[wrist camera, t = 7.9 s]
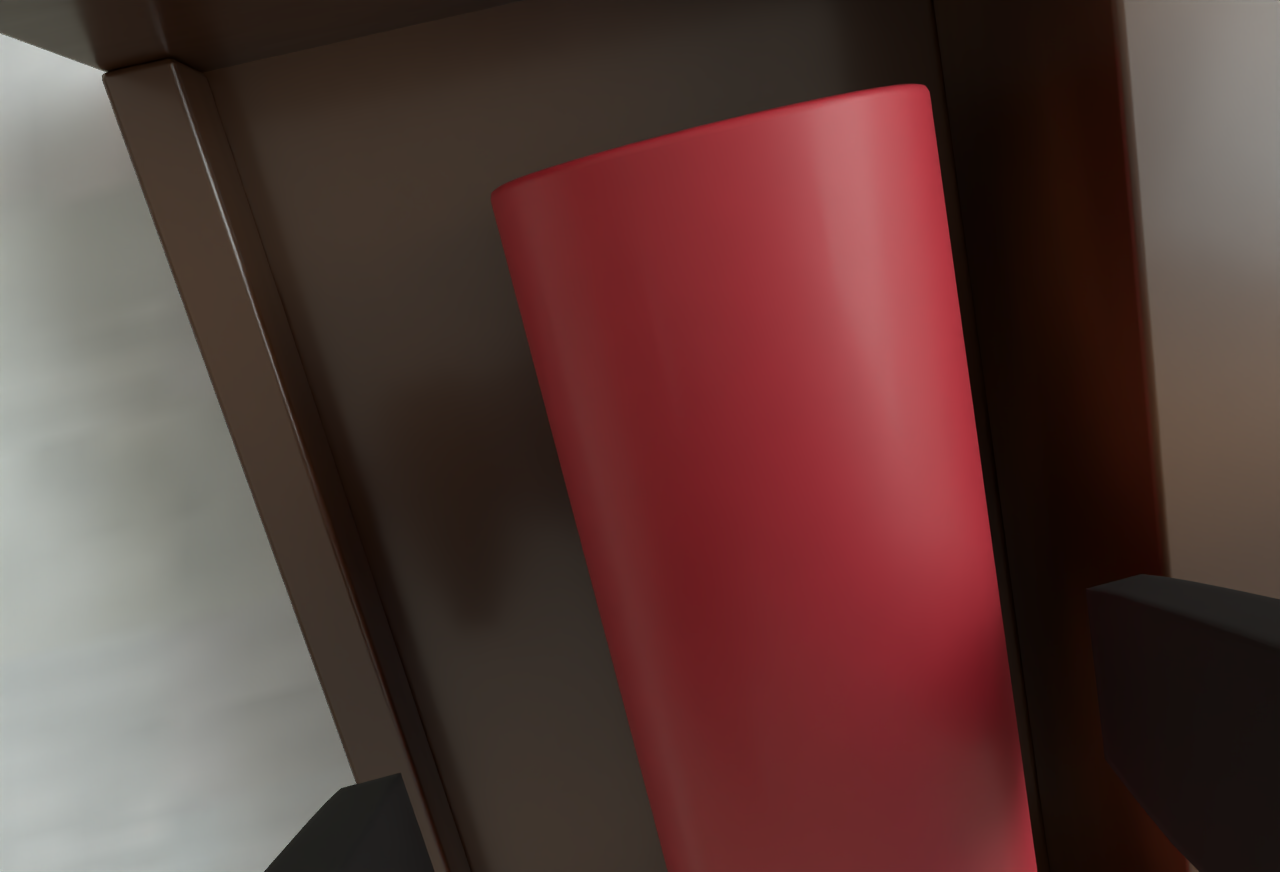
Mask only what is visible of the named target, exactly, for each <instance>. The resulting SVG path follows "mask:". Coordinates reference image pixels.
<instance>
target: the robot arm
mask: <svg viewBox="0 0 1280 872" xmlns="http://www.w3.org/2000/svg"><path fill="white" fill-rule="evenodd" d="M1085 590H1086V599H1087V607H1088V616H1089V625H1090V634H1091V643H1092V652H1093V660H1094V669H1095V678H1096V687H1097V696H1098V705H1099V713H1100V722H1101V731H1102V740H1103V749H1104V757H1105V760H1106V761H1107V763H1108V764H1109V765H1110V767H1111V768H1112V769H1113V771H1114V772H1115V773H1116V774H1117V776H1118V777H1119V778H1120V780H1121V781H1122V782H1123V784H1124V785H1125V786H1126V787H1127V789H1128V790H1129V791H1130V793H1131V794H1132V795H1133V797H1134V798H1135V799H1136V800H1137V802H1138V803H1139V804H1140V806H1141V807H1142V808H1143V809H1144V810H1145V812H1146V813H1147V814H1148V815H1149V817H1150V818H1151V819H1152V820H1153V821H1154V823H1155V824H1156V825H1157V826H1158V827H1159V829H1160V830H1161V831H1162V832H1163V833H1164V835H1165V836H1166V837H1167V838H1168V840H1169V841H1170V842H1171V843H1172V844H1173V845H1174V846H1175V847H1176V848H1177V850H1178V851H1179V852H1180V853H1181V854H1182V855H1183V856H1184V857H1185V858H1186V859H1187V860H1188V861H1189V862H1190V863H1191V864H1192V865H1193V866H1194V867H1195V868H1196V869H1197V870H1198V871H1199V872H1280V599H1276V598H1271V597H1267V596H1262V595H1257V594H1253V593H1248V592H1244V591H1239V590H1234V589H1229V588H1224V587H1219V586H1214V585H1209V584H1204V583H1199V582H1194V581H1188V580H1182V579H1176V578H1170V577H1163V576H1155V575H1146V574H1140V575H1136V576H1132V577H1128V578H1125V579H1121V580H1117V581H1113V582H1110V583H1106V584H1102V585H1098V586H1095V587H1091V588H1087V589H1085ZM264 872H435V871H434V868H433V865H432V862H431V859H430V857H429V854H428V851H427V848H426V845H425V842H424V839H423V836H422V833H421V830H420V827H419V825H418V822H417V819H416V816H415V813H414V810H413V807H412V804H411V801H410V798H409V795H408V793H407V790H406V787H405V784H404V781H403V778H402V775H401V773H397V774H393V775H389V776H386V777H382V778H378V779H374V780H371V781H367V782H363V783H359V784H356V785H352V786H348V787H345V788H341V789H340V790H339V791H337V792H336V793H335V794H334V795H333V796H332V797H331V798H330V799H329V800H328V801H327V802H326V803H325V804H324V805H323V806H322V807H321V808H320V809H319V811H318V812H317V813H316V814H315V815H314V816H313V817H312V818H311V819H310V820H309V821H308V823H307V824H306V825H305V826H304V827H303V828H302V829H301V830H300V831H299V833H298V834H297V835H296V836H295V837H294V838H293V839H292V840H291V842H290V843H289V844H288V845H287V846H286V847H285V848H284V850H283V851H282V852H281V853H280V854H279V855H278V856H277V857H276V859H275V860H274V861H273V862H272V863H271V864H270V865H269V867H268V868H267V869H266V870H265V871H264Z"/></svg>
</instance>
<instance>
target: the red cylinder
mask: <svg viewBox="0 0 1280 872" xmlns="http://www.w3.org/2000/svg"><path fill="white" fill-rule="evenodd" d="M491 204H492V208H493V211H494V215H495V219H496V223H497V227H498V230H499V234H500V238H501V242H502V246H503V249H504V253H505V257H506V261H507V265H508V268H509V272H510V276H511V280H512V283H513V287H514V291H515V295H516V299H517V302H518V306H519V310H520V314H521V318H522V321H523V325H524V329H525V333H526V337H527V340H528V344H529V348H530V352H531V355H532V359H533V363H534V367H535V371H536V374H537V378H538V382H539V386H540V390H541V393H542V397H543V401H544V405H545V408H546V412H547V416H548V420H549V424H550V427H551V431H552V435H553V439H554V443H555V446H556V450H557V454H558V458H559V462H560V465H561V469H562V473H563V477H564V480H565V484H566V488H567V492H568V496H569V499H570V503H571V507H572V511H573V515H574V518H575V522H576V526H577V530H578V534H579V537H580V541H581V545H582V549H583V552H584V556H585V560H586V564H587V568H588V571H589V575H590V579H591V583H592V587H593V590H594V594H595V598H596V602H597V606H598V609H599V613H600V617H601V621H602V624H603V628H604V632H605V636H606V640H607V643H608V647H609V651H610V655H611V659H612V662H613V666H614V670H615V674H616V678H617V681H618V685H619V689H620V693H621V696H622V700H623V704H624V708H625V712H626V715H627V719H628V723H629V727H630V731H631V734H632V738H633V742H634V746H635V750H636V753H637V757H638V761H639V765H640V768H641V772H642V776H643V780H644V784H645V787H646V791H647V795H648V799H649V803H650V806H651V810H652V814H653V818H654V821H655V825H656V829H657V833H658V837H659V840H660V844H661V848H662V852H663V856H664V859H665V863H666V867H667V871H668V872H1037V865H1036V858H1035V851H1034V844H1033V836H1032V829H1031V822H1030V815H1029V807H1028V800H1027V793H1026V786H1025V779H1024V771H1023V764H1022V757H1021V750H1020V742H1019V735H1018V728H1017V721H1016V713H1015V706H1014V699H1013V692H1012V684H1011V677H1010V670H1009V663H1008V655H1007V648H1006V641H1005V634H1004V626H1003V619H1002V612H1001V605H1000V597H999V590H998V583H997V576H996V568H995V561H994V554H993V547H992V539H991V532H990V525H989V518H988V510H987V503H986V496H985V489H984V481H983V474H982V467H981V460H980V453H979V445H978V438H977V431H976V424H975V416H974V409H973V402H972V395H971V387H970V380H969V373H968V366H967V358H966V351H965V344H964V337H963V329H962V322H961V315H960V308H959V300H958V293H957V286H956V279H955V271H954V264H953V257H952V250H951V242H950V235H949V228H948V221H947V213H946V206H945V199H944V192H943V184H942V177H941V170H940V163H939V156H938V148H937V141H936V134H935V127H934V119H933V112H932V105H931V98H930V92H929V90H928V89H927V87H926V86H925V85H921V84H899V85H891V86H884V87H877V88H871V89H866V90H860V91H854V92H849V93H844V94H839V95H834V96H829V97H824V98H819V99H814V100H810V101H805V102H800V103H795V104H791V105H786V106H782V107H777V108H773V109H768V110H764V111H760V112H756V113H751V114H747V115H743V116H738V117H734V118H730V119H726V120H722V121H718V122H714V123H709V124H705V125H701V126H697V127H693V128H689V129H685V130H681V131H678V132H674V133H670V134H666V135H662V136H658V137H654V138H651V139H647V140H643V141H639V142H636V143H632V144H628V145H624V146H621V147H617V148H614V149H610V150H606V151H603V152H599V153H596V154H592V155H589V156H585V157H582V158H579V159H575V160H572V161H568V162H565V163H562V164H559V165H555V166H552V167H549V168H546V169H543V170H540V171H537V172H534V173H531V174H528V175H525V176H522V177H520V178H517V179H514V180H512V181H509V182H507V183H505V184H503V185H501V186H499V187H498V188H496V189H495V190H494V191H493V192H492V193H491Z"/></svg>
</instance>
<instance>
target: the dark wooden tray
mask: <svg viewBox="0 0 1280 872" xmlns="http://www.w3.org/2000/svg"><path fill="white" fill-rule="evenodd" d="M0 33H1V34H4V35H6V36H9V37H12V38H14V39H17V40H20V41H23V42H25V43H28V44H31V45H34V46H36V47H39V48H42V49H44V50H47V51H50V52H53V53H55V54H58V55H61V56H64V57H66V58H69V59H72V60H75V61H77V62H80V63H83V64H85V65H88V66H91V67H94V68H96V69H99V70H102V71H105V72H106V73H105V74H103V75H102V81H103V84H104V86H105V89H106V92H107V95H108V98H109V100H110V103H111V106H112V109H113V111H114V114H115V117H116V120H117V122H118V125H119V128H120V131H121V134H122V136H123V139H124V142H125V145H126V147H127V150H128V153H129V156H130V158H131V161H132V164H133V167H134V170H135V172H136V175H137V178H138V181H139V183H140V186H141V189H142V192H143V194H144V197H145V200H146V203H147V206H148V208H149V211H150V214H151V217H152V219H153V222H154V225H155V228H156V230H157V233H158V236H159V239H160V241H161V244H162V247H163V250H164V253H165V255H166V258H167V261H168V264H169V266H170V269H171V272H172V275H173V277H174V280H175V283H176V286H177V289H178V291H179V294H180V297H181V300H182V302H183V305H184V308H185V311H186V313H187V316H188V319H189V322H190V325H191V327H192V330H193V333H194V336H195V338H196V341H197V344H198V347H199V349H200V352H201V355H202V358H203V360H204V363H205V366H206V369H207V372H208V374H209V377H210V380H211V383H212V385H213V388H214V391H215V394H216V396H217V399H218V402H219V405H220V408H221V410H222V413H223V416H224V419H225V421H226V424H227V427H228V430H229V432H230V435H231V438H232V441H233V444H234V446H235V449H236V452H237V455H238V457H239V460H240V463H241V466H242V468H243V471H244V474H245V477H246V480H247V482H248V485H249V488H250V491H251V493H252V496H253V499H254V502H255V504H256V507H257V510H258V513H259V515H260V518H261V521H262V524H263V527H264V529H265V532H266V535H267V538H268V540H269V543H270V546H271V549H272V551H273V554H274V557H275V560H276V563H277V565H278V568H279V571H280V574H281V576H282V579H283V582H284V585H285V587H286V590H287V593H288V596H289V599H290V601H291V604H292V607H293V610H294V612H295V615H296V618H297V621H298V623H299V626H300V629H301V632H302V634H303V637H304V640H305V643H306V646H307V648H308V651H309V654H310V657H311V659H312V662H313V665H314V668H315V670H316V673H317V676H318V679H319V682H320V684H321V687H322V690H323V693H324V695H325V698H326V701H327V704H328V706H329V709H330V712H331V715H332V718H333V720H334V723H335V726H336V729H337V731H338V734H339V737H340V740H341V742H342V745H343V748H344V751H345V754H346V756H347V759H348V762H349V765H350V767H351V770H352V773H353V776H354V778H355V781H356V784H359V783H363V782H367V781H371V780H374V779H378V778H382V777H386V776H389V775H393V774H397V773H401V775H402V778H403V781H404V784H405V787H406V790H407V793H408V795H409V798H410V801H411V804H412V807H413V810H414V813H415V816H416V819H417V822H418V825H419V827H420V830H421V833H422V836H423V839H424V842H425V845H426V848H427V851H428V854H429V857H430V859H431V862H432V865H433V868H434V871H435V872H668V871H667V867H666V863H665V859H664V856H663V852H662V848H661V844H660V840H659V837H658V833H657V829H656V825H655V821H654V818H653V814H652V810H651V806H650V803H649V799H648V795H647V791H646V787H645V784H644V780H643V776H642V772H641V768H640V765H639V761H638V757H637V753H636V750H635V746H634V742H633V738H632V734H631V731H630V727H629V723H628V719H627V715H626V712H625V708H624V704H623V700H622V696H621V693H620V689H619V685H618V681H617V678H616V674H615V670H614V666H613V662H612V659H611V655H610V651H609V647H608V643H607V640H606V636H605V632H604V628H603V624H602V621H601V617H600V613H599V609H598V606H597V602H596V598H595V594H594V590H593V587H592V583H591V579H590V575H589V571H588V568H587V564H586V560H585V556H584V552H583V549H582V545H581V541H580V537H579V534H578V530H577V526H576V522H575V518H574V515H573V511H572V507H571V503H570V499H569V496H568V492H567V488H566V484H565V480H564V477H563V473H562V469H561V465H560V462H559V458H558V454H557V450H556V446H555V443H554V439H553V435H552V431H551V427H550V424H549V420H548V416H547V412H546V408H545V405H544V401H543V397H542V393H541V390H540V386H539V382H538V378H537V374H536V371H535V367H534V363H533V359H532V355H531V352H530V348H529V344H528V340H527V337H526V333H525V329H524V325H523V321H522V318H521V314H520V310H519V306H518V302H517V299H516V295H515V291H514V287H513V283H512V280H511V276H510V272H509V268H508V265H507V261H506V257H505V253H504V249H503V246H502V242H501V238H500V234H499V230H498V227H497V223H496V219H495V215H494V211H493V208H492V204H491V193H492V192H493V191H494V190H495V189H496V188H498V187H499V186H501V185H503V184H505V183H507V182H509V181H512V180H514V179H517V178H520V177H522V176H525V175H528V174H531V173H534V172H537V171H540V170H543V169H546V168H549V167H552V166H555V165H559V164H562V163H565V162H568V161H572V160H575V159H579V158H582V157H585V156H589V155H592V154H596V153H599V152H603V151H606V150H610V149H614V148H617V147H621V146H624V145H628V144H632V143H636V142H639V141H643V140H647V139H651V138H654V137H658V136H662V135H666V134H670V133H674V132H678V131H681V130H685V129H689V128H693V127H697V126H701V125H705V124H709V123H714V122H718V121H722V120H726V119H730V118H734V117H738V116H743V115H747V114H751V113H756V112H760V111H764V110H768V109H773V108H777V107H782V106H786V105H791V104H795V103H800V102H805V101H810V100H814V99H819V98H824V97H829V96H834V95H839V94H844V93H849V92H854V91H860V90H866V89H871V88H877V87H884V86H891V85H899V84H921V85H925V86H926V87H927V89H928V90H929V92H930V98H931V105H932V112H933V119H934V127H935V134H936V141H937V148H938V156H939V163H940V170H941V177H942V184H943V192H944V199H945V206H946V213H947V221H948V228H949V235H950V242H951V250H952V257H953V264H954V271H955V279H956V286H957V293H958V300H959V308H960V315H961V322H962V329H963V337H964V344H965V351H966V358H967V366H968V373H969V380H970V387H971V395H972V402H973V409H974V416H975V424H976V431H977V438H978V445H979V453H980V460H981V467H982V474H983V481H984V489H985V496H986V503H987V510H988V518H989V525H990V532H991V539H992V547H993V554H994V561H995V568H996V576H997V583H998V590H999V597H1000V605H1001V612H1002V619H1003V626H1004V634H1005V641H1006V648H1007V655H1008V663H1009V670H1010V677H1011V684H1012V692H1013V699H1014V706H1015V713H1016V721H1017V728H1018V735H1019V742H1020V750H1021V757H1022V764H1023V771H1024V779H1025V786H1026V793H1027V800H1028V807H1029V815H1030V822H1031V829H1032V836H1033V844H1034V851H1035V858H1036V865H1037V872H1199V871H1198V870H1197V869H1196V868H1195V867H1194V866H1193V865H1192V864H1191V863H1190V862H1189V861H1188V860H1187V859H1186V858H1185V857H1184V856H1183V855H1182V854H1181V853H1180V852H1179V851H1178V850H1177V848H1176V847H1175V846H1174V845H1173V844H1172V843H1171V842H1170V841H1169V840H1168V838H1167V837H1166V836H1165V835H1164V833H1163V832H1162V831H1161V830H1160V829H1159V827H1158V826H1157V825H1156V824H1155V823H1154V821H1153V820H1152V819H1151V818H1150V817H1149V815H1148V814H1147V813H1146V812H1145V810H1144V809H1143V808H1142V807H1141V806H1140V804H1139V803H1138V802H1137V800H1136V799H1135V798H1134V797H1133V795H1132V794H1131V793H1130V791H1129V790H1128V789H1127V787H1126V786H1125V785H1124V784H1123V782H1122V781H1121V780H1120V778H1119V777H1118V776H1117V774H1116V773H1115V772H1114V771H1113V769H1112V768H1111V767H1110V765H1109V764H1108V763H1107V761H1106V760H1105V757H1104V749H1103V740H1102V731H1101V722H1100V713H1099V705H1098V696H1097V687H1096V678H1095V669H1094V660H1093V652H1092V643H1091V634H1090V625H1089V616H1088V607H1087V599H1086V590H1085V589H1087V588H1091V587H1095V586H1098V585H1102V584H1106V583H1110V582H1113V581H1117V580H1121V579H1125V578H1128V577H1132V576H1136V575H1140V574H1146V575H1155V576H1163V577H1170V578H1176V579H1182V580H1188V581H1194V582H1199V583H1204V584H1209V585H1214V586H1219V587H1224V588H1229V589H1234V590H1239V591H1244V592H1248V593H1253V594H1257V595H1262V596H1267V597H1271V598H1276V599H1280V0H0Z"/></svg>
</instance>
